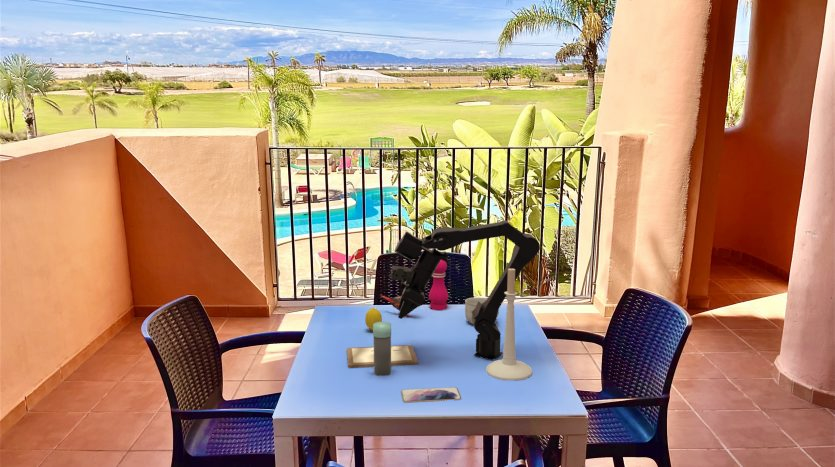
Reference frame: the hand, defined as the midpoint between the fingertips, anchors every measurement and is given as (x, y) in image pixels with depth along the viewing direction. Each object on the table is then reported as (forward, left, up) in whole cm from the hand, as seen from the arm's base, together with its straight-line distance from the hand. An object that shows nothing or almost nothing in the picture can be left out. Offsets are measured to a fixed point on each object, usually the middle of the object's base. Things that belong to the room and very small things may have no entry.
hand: (399, 313), depth 195 cm
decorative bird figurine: (+25, -31, -14) cm, 42 cm away
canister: (-4, +12, -13) cm, 19 cm away
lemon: (+21, -13, -14) cm, 28 cm away
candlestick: (-32, -10, -14) cm, 36 cm away
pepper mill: (+19, -47, -14) cm, 52 cm away
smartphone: (-24, +16, -14) cm, 32 cm away
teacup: (-4, -41, -14) cm, 43 cm away
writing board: (+4, +4, -13) cm, 15 cm away
